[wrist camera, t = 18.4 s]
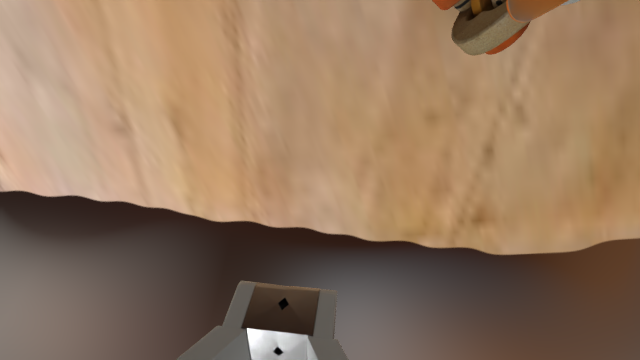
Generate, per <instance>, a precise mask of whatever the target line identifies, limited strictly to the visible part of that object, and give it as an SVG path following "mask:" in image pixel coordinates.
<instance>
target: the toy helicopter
mask: <svg viewBox="0 0 640 360" xmlns="http://www.w3.org/2000/svg"><path fill="white" fill-rule="evenodd" d="M432 1H433V2H434V3H435V4H436V5H437V6H438V7H439V8H440V9H442V10H448V9H449V8H451V7H452V6H454V7H455V8H456V9H457V10H459V11H460V13H459V15H458V17H457V19H456V21H455V23H454V26H453V28H452V40H453V41H454V43H455V44H456V45H458V46H459V47H460V48H461V49H462V50H463V51H464V52H465V53H467V54H469V55H479V54H483V53H486V54H490V55H491V54H496V53H498V52H500V51H502V50H504V49H506V48H507V47H509V46H510V45H511V44H513V43H514V42H515V41H516V40H517V39H518V38H519V37H520V36H521V35H522V34H523V33H524V31H525V30H526V29H527V27H528V25H529V23H530V21H531V20H533V19H535V18H537V17H539V16H541V15H543V14H545V13H546V12H548V11H550V10H552V9H554V8H556V7H558V6H559V5H567V4H571V3H575V2H577V1H580V0H432Z"/></svg>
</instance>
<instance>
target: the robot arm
mask: <svg viewBox="0 0 640 360" xmlns="http://www.w3.org/2000/svg"><path fill="white" fill-rule="evenodd" d="M336 302H337V291H334V290H323V289H321V290H320V289H317V288H306V287H295V286H294V287H293V286H289V287H288V286H280V285H273V284H265V283H256V282H248V281H241V282H240V283H239V284H238V286H237V289H236V292H235V294H234V297H233V299H232V302H231V304H230V307H229V310H228V313H227V315H226V318H225V320H224V323H223V325H222V326H217V327H215V328H214V329H213V330H212V331H211V332H209V333H208V334H207V335H206V336H204V337H203V338H202V339H201V340H199V341H198V342H197V343H196V344H195V345H193V346H192V347H191V348H190V349H188V350H187V351H186V352H185V353H184V354H182V355H181V356H180V357H179V358H177V359H176V360H348V358H347V356H346V354H345V353H344V351H343V349H342V347H341V345H340V344H339V341H338V340H336V339H334V334H335V319H336Z"/></svg>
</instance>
